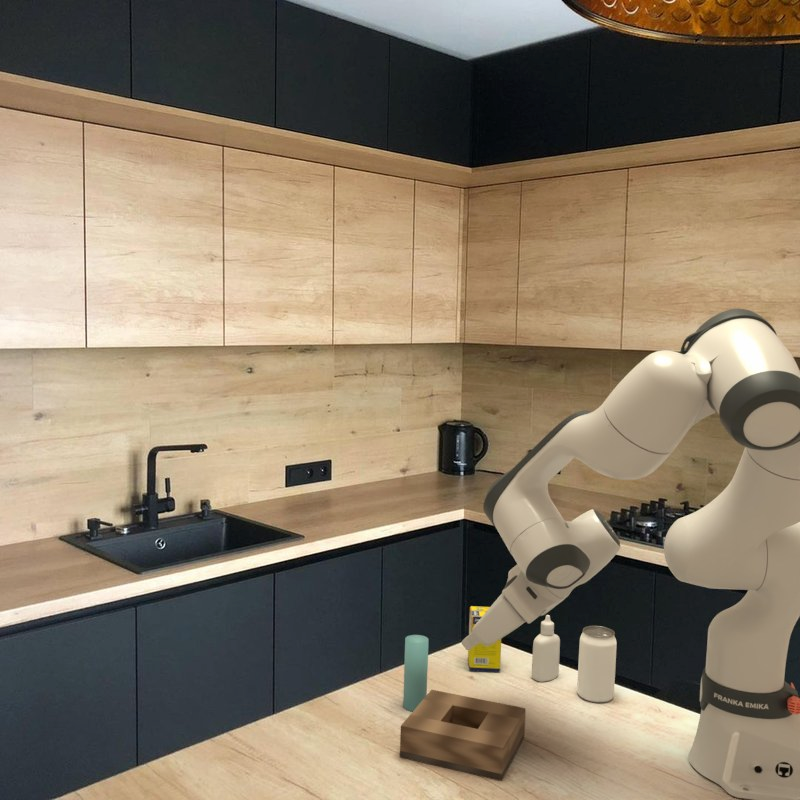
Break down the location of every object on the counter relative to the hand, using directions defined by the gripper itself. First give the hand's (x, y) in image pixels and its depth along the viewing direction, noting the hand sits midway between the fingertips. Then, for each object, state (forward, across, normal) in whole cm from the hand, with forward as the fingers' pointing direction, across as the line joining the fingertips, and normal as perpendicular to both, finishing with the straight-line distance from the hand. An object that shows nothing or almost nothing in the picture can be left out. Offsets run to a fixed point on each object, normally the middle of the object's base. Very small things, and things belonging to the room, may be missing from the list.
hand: (473, 635), depth 142 cm
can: (-2, -18, +23) cm, 30 cm away
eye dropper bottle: (+5, -22, +16) cm, 28 cm away
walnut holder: (+9, +9, +12) cm, 17 cm away
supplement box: (+13, -23, +8) cm, 27 cm away
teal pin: (+18, -1, +3) cm, 18 cm away
